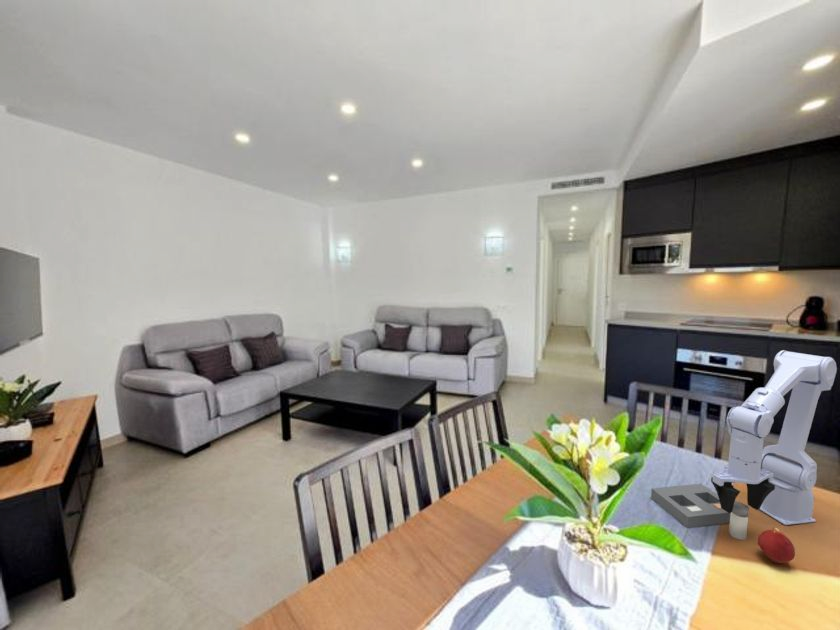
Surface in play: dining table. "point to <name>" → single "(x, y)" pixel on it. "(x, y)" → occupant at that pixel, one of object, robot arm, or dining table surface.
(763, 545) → the red rounded oval piece
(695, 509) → the socket panel
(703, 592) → the dining table surface
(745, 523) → the plug
